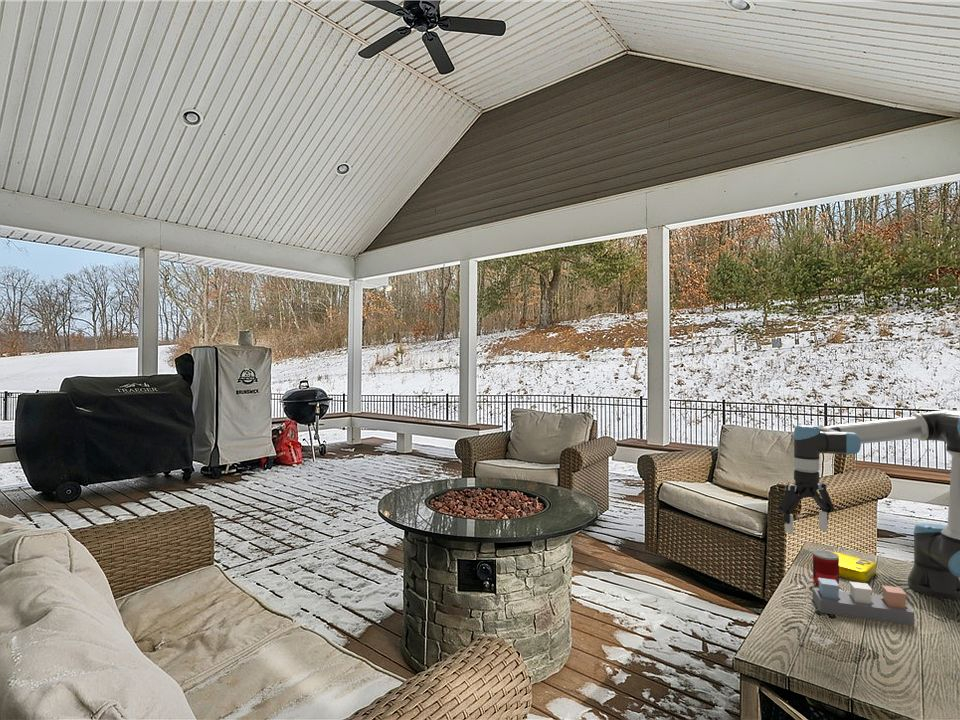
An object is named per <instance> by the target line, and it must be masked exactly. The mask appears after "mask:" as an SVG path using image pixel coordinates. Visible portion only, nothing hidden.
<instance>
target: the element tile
mask: <svg viewBox="0 0 960 720" xmlns="http://www.w3.org/2000/svg"><path fill="white" fill-rule="evenodd" d="M831 552H832V551H831ZM832 553H835V554H837V555H838V556H839V577H841V578H845V579H849V580H852V581H855V582H858V583H867V582H869V579H870V580H871V579H872V578H873V577H874V576H875V575H876V574H877V563H876V561H872V560H868V559H864V558H862V557H861V558H860V557H857V556H853V555H849V554H844V553H841V552H840V553H839V552H837V551H833V552H832Z"/></svg>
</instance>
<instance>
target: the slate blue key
mask: <svg viewBox="0 0 960 720" xmlns="http://www.w3.org/2000/svg"><path fill="white" fill-rule="evenodd" d="M818 581H819V586H818V588H819V594H820V595H821V597H822V598H828V599H835V600H839V591H840V590H839V589H841V587H840V586H841V585H840V583H839V584H838V583H837V582H836V580H833V579H824V578H818Z"/></svg>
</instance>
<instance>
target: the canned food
mask: <svg viewBox="0 0 960 720" xmlns="http://www.w3.org/2000/svg"><path fill="white" fill-rule="evenodd" d="M818 578H824V579H833V580H836V582H837V583H838V584H839V585H840V576H839V556H838V555H837V554H835V553H832V551H828V550H827V551H826V550H814V551H813V552H812V580H813V584H815V585H817V586H818V587H819V581H818Z"/></svg>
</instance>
